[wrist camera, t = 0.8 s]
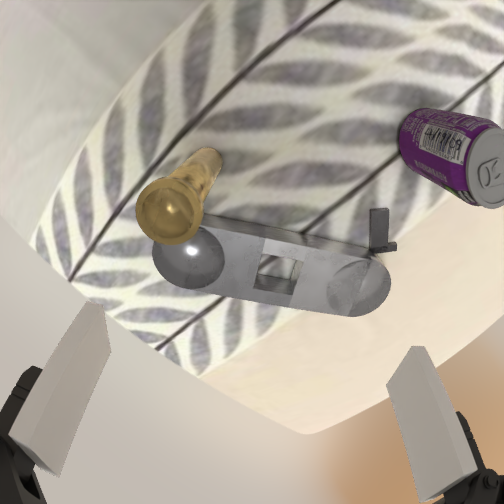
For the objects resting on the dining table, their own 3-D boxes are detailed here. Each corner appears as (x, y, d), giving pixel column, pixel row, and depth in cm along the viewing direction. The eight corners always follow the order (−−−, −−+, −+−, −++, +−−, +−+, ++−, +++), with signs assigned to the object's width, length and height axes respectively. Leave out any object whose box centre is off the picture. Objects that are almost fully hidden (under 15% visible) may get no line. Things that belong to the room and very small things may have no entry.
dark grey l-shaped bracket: (370, 209, 31) (371, 211, 30) (397, 207, 30) (399, 208, 30) (369, 251, 33) (370, 254, 32) (394, 248, 33) (396, 250, 32)
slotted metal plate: (163, 206, 31) (154, 216, 28) (391, 253, 33) (401, 266, 30) (158, 266, 34) (150, 281, 32) (368, 305, 36) (374, 320, 34)
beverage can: (410, 184, 29) (474, 230, 18) (384, 123, 26) (451, 143, 16) (458, 157, 27) (530, 191, 17) (436, 98, 25) (513, 108, 14)
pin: (191, 140, 28) (138, 175, 15) (230, 147, 28) (206, 186, 16) (185, 177, 30) (134, 238, 17) (222, 184, 30) (196, 250, 17)
